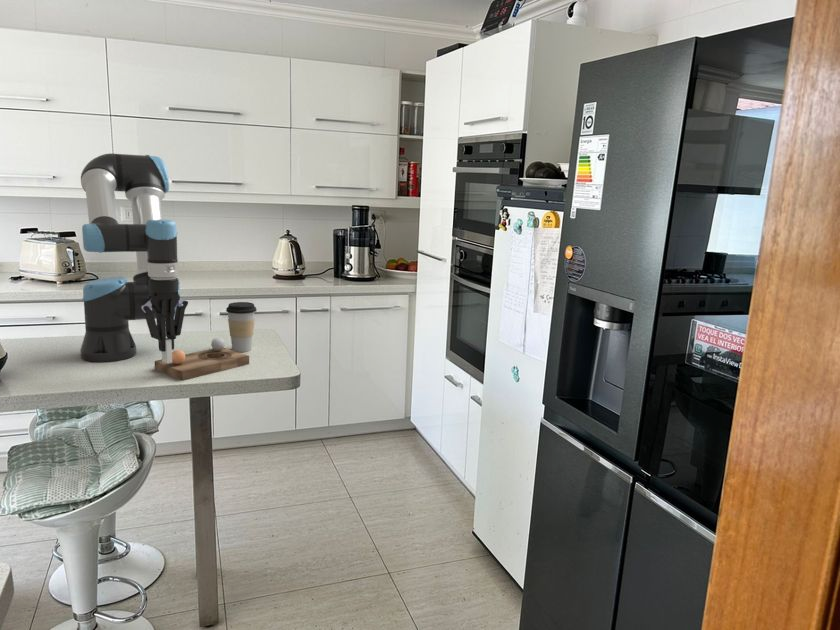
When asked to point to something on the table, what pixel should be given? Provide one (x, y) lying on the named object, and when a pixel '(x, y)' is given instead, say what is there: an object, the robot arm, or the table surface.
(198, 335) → the table surface
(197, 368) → the brown wooden board
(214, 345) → the grey ball
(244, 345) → the coffee cup
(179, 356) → the ball
